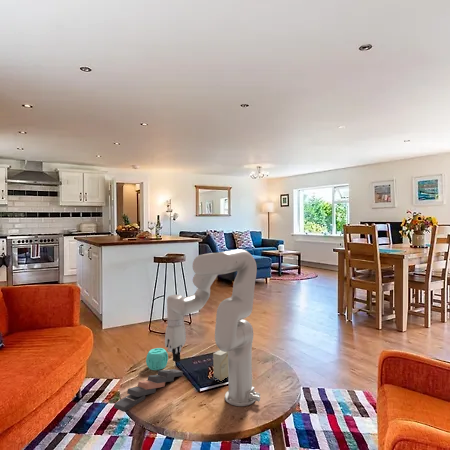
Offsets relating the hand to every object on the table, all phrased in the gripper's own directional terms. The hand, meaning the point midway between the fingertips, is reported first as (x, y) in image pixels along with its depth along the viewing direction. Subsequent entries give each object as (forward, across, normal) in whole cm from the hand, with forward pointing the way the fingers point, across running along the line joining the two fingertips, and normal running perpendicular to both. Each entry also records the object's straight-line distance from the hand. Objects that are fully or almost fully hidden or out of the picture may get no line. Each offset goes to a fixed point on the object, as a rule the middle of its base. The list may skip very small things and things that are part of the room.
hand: (176, 360), depth 160 cm
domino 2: (+6, +17, 0) cm, 18 cm away
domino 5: (+6, -1, 0) cm, 6 cm away
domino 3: (+6, +11, 0) cm, 13 cm away
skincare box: (+7, -8, +20) cm, 22 cm away
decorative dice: (+7, -2, -14) cm, 16 cm away
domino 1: (+6, +23, 0) cm, 24 cm away
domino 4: (+6, +5, 0) cm, 8 cm away
